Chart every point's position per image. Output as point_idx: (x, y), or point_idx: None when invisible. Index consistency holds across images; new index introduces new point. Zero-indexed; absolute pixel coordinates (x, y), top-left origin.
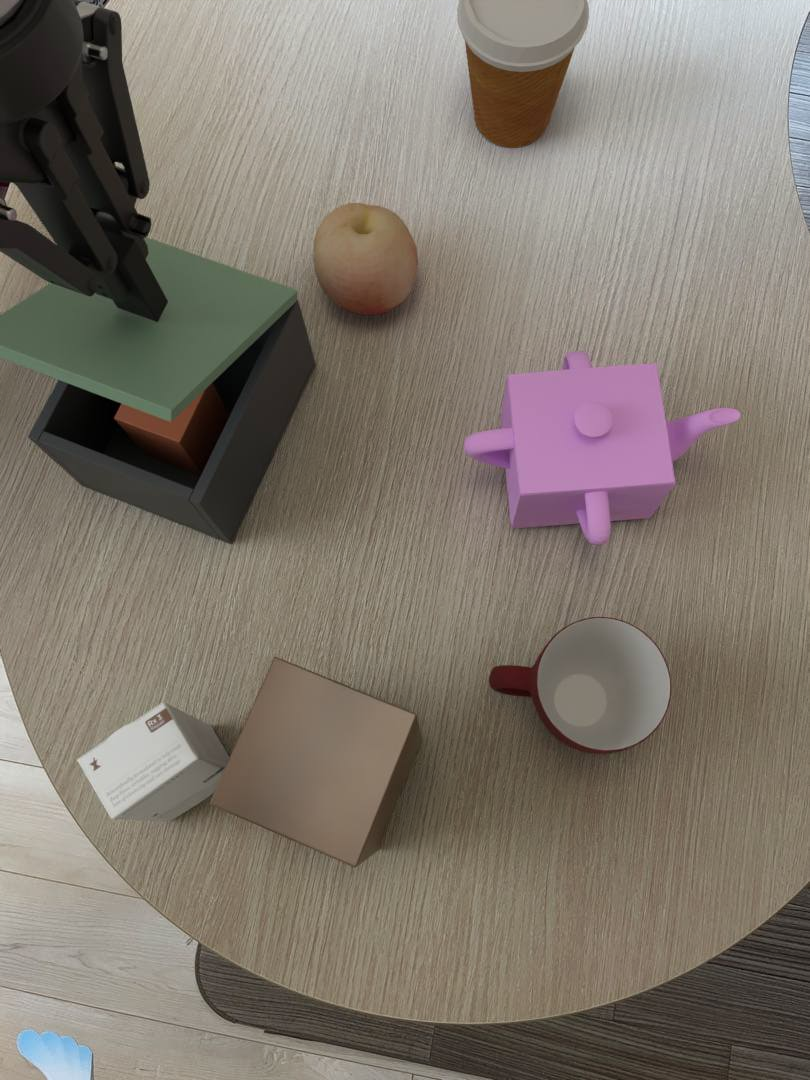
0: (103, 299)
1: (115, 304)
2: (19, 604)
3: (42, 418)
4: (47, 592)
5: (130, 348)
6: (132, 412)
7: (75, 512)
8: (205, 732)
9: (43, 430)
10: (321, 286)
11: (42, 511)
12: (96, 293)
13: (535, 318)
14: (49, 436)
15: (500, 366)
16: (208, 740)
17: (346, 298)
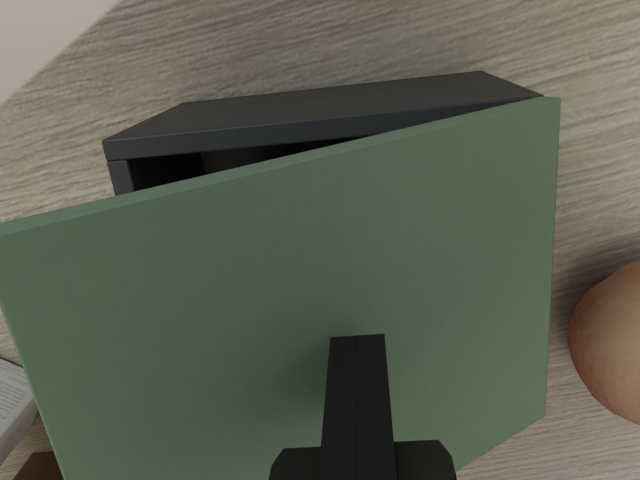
0: (340, 282)
1: (329, 346)
2: (7, 120)
3: (142, 146)
4: (42, 145)
5: (239, 463)
6: None
7: (146, 117)
8: (12, 433)
9: (128, 158)
10: (588, 311)
11: (120, 73)
12: (270, 472)
13: (634, 476)
14: (125, 175)
15: (559, 466)
16: (1, 451)
17: (578, 358)
